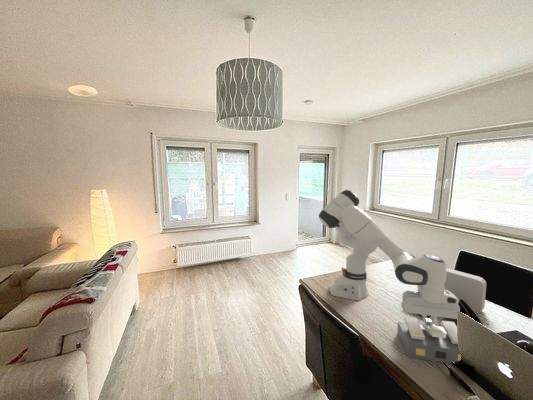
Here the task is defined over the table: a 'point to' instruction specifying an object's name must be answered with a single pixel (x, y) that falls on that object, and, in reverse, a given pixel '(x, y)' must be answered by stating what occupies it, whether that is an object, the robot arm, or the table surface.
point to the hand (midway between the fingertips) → (428, 323)
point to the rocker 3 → (450, 330)
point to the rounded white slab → (467, 288)
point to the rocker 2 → (434, 330)
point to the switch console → (428, 345)
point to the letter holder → (465, 312)
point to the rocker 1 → (414, 328)
